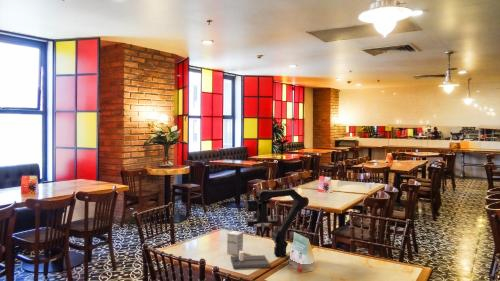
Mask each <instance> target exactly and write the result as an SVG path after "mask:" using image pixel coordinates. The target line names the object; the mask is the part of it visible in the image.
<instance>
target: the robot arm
mask: <svg viewBox="0 0 500 281" xmlns="http://www.w3.org/2000/svg"><path fill="white" fill-rule="evenodd" d="M282 197H291V199H292V200H293V201H292V206H291V208H290V210H289V211H288V213H287V215H286V216H285V218H284V219H283V221H282V223H281V225H280V224H279V222H280V221H278V220H277V218H276V219H275V218H271V219H270V220H268V207H269V206H268V205H270V204H272V202H271V201H270V200H271V199H273V198H282ZM307 204H308V199H307V198H306V197H304V196H302V195H301V194H299V193H298V192H297V191H296V190H295V189H293V188H285V189H275V190H273V189H272V190H270V189H259V190H258V191H257V193H256V195H255V196H254V198H253V200H252V199H251V200H250V199H249V200H246V202H245V205H244V211H245V212H246V213H252V212H253V214H252V215H253V217H252V218H253V219H247V220H246V222H245V223H246V226H247V227H251V228H252V227H254V226H255V227H256V228H258V230H259V233H260V236H261V238H263V237H264V236H265V233H266V231H267V229H268V228H270V225H272V226H274V227H275V228H274V230H273V232H271V240H272V241H273V242H274V244H275V245H274V247H273V248H274V249H273V251H274V252H273V255H275V257H276V258H277V257H279V258H280V257H282V258H283V257H288V254H287V247H288V245H289V242H287V241H286V237H287V232H288V230H289V228H290V227H291V225H292V223H293V222H294V220H295V218H296V217H297V215H298V214H299V212H300V211H302V210H303V209H304V208H305V207H306V206H307ZM254 219H255V220H254ZM278 226H279V227H278ZM276 227H278V228H276Z"/></svg>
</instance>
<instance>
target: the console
mask: <svg viewBox="0 0 500 281" xmlns="http://www.w3.org/2000/svg"><path fill="white" fill-rule="evenodd" d="M230 263H231V266H232V268H233V270H236V269H237V270H239V269H260V268H261V269H263V268H264V269H265V268H270V263H269V261H268V259H267V257H266V255H264V254H261V255H244V257H243V261H240V260H239V255H233V256H230Z"/></svg>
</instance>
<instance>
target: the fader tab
mask: <svg viewBox="0 0 500 281" xmlns="http://www.w3.org/2000/svg"><path fill="white" fill-rule="evenodd" d="M238 256H239V260H240V261H243V257H244V256H245V255H244V251H239V255H238Z"/></svg>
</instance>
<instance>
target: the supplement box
mask: <svg viewBox="0 0 500 281" xmlns="http://www.w3.org/2000/svg"><path fill="white" fill-rule="evenodd" d="M226 239H227V240H226V242H227V244H226V254H229V255H233V256H239V251H243V250H244V248H243V246H244V245H243V244H244V232H243V231H237V230H232V231H230V232H227V238H226ZM243 252H244V251H243Z"/></svg>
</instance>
